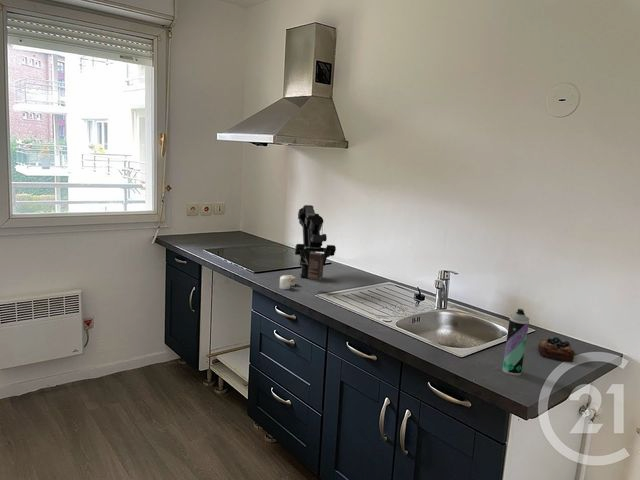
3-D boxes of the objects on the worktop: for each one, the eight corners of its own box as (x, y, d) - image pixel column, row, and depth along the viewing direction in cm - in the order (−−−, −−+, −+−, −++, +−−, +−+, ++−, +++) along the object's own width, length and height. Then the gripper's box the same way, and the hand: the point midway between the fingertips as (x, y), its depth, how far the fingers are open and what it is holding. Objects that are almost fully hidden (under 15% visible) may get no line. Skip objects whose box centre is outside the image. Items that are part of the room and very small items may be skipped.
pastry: (540, 358, 162) (542, 341, 161) (535, 346, 173) (538, 330, 172) (576, 364, 159) (579, 347, 158) (569, 351, 170) (571, 335, 169)
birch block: (281, 283, 233) (282, 275, 232) (291, 283, 235) (291, 275, 234) (284, 286, 228) (285, 277, 228) (294, 285, 230) (295, 277, 230)
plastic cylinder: (279, 286, 227) (279, 276, 226) (289, 286, 228) (290, 276, 227) (279, 289, 222) (280, 278, 221) (290, 289, 223) (291, 279, 222)
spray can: (500, 367, 151) (508, 305, 148) (518, 368, 151) (527, 307, 148) (505, 374, 146) (514, 311, 143) (523, 376, 146) (533, 313, 142)
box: (322, 278, 225) (324, 253, 222) (318, 280, 221) (320, 254, 218) (311, 276, 227) (312, 251, 225) (306, 278, 223) (308, 252, 221)
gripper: (297, 226, 222) (298, 255, 213) (336, 228, 225) (339, 256, 216) (294, 240, 231) (295, 268, 222) (332, 241, 234) (334, 269, 225)
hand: (316, 265), depth 221 cm, fingers closed on box, 7 cm apart
